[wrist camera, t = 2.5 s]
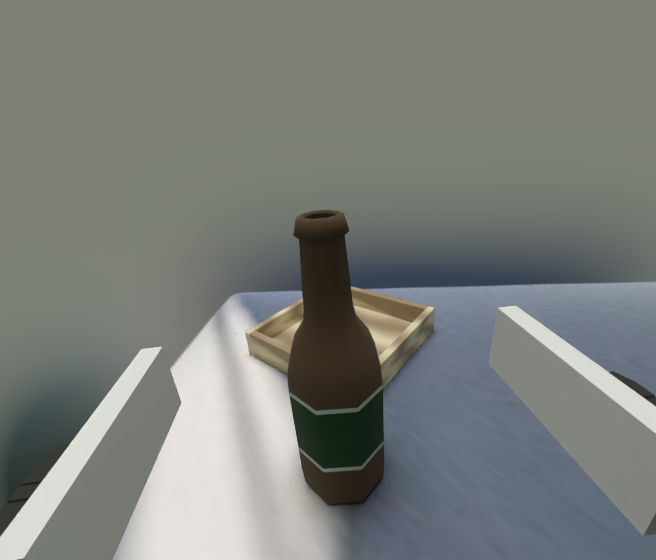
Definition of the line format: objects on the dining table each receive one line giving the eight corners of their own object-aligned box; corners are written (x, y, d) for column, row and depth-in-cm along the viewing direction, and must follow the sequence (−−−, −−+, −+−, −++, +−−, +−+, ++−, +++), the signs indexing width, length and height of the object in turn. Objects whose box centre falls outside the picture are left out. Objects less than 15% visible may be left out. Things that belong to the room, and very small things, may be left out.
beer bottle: (321, 527, 25) (276, 239, 16) (292, 450, 32) (248, 214, 22) (402, 484, 28) (407, 214, 18) (359, 421, 34) (347, 198, 25)
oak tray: (332, 300, 61) (331, 281, 59) (433, 330, 49) (434, 308, 47) (250, 354, 47) (245, 331, 46) (361, 415, 35) (359, 387, 34)
